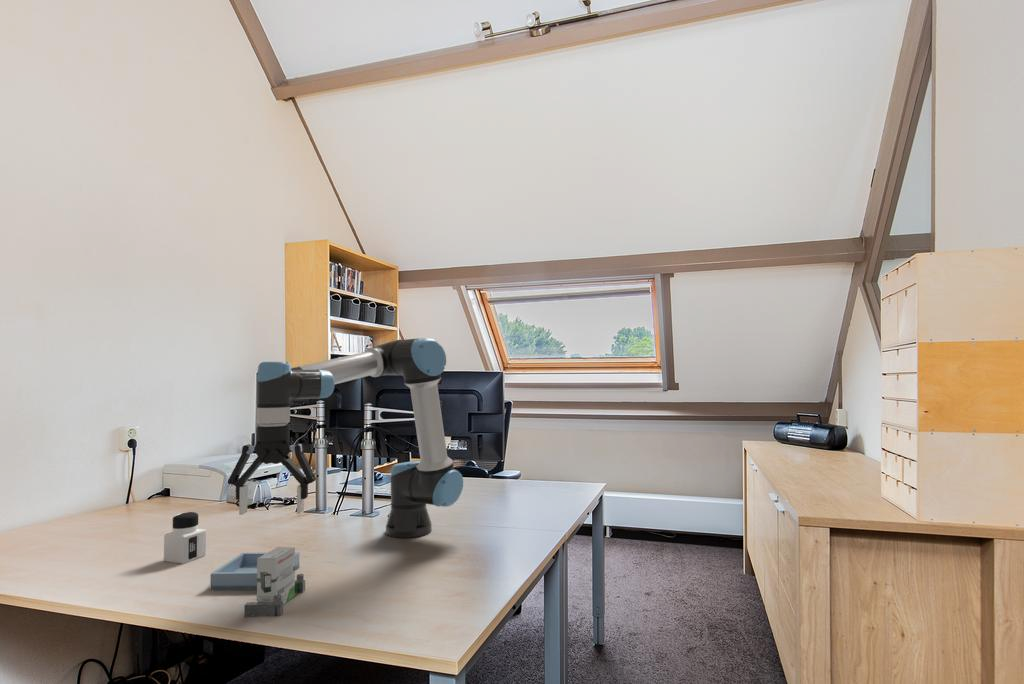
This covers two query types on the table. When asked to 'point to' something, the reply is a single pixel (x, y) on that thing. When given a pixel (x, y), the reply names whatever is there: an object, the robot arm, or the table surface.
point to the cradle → (272, 607)
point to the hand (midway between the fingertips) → (271, 513)
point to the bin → (239, 573)
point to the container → (185, 539)
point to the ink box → (276, 575)
